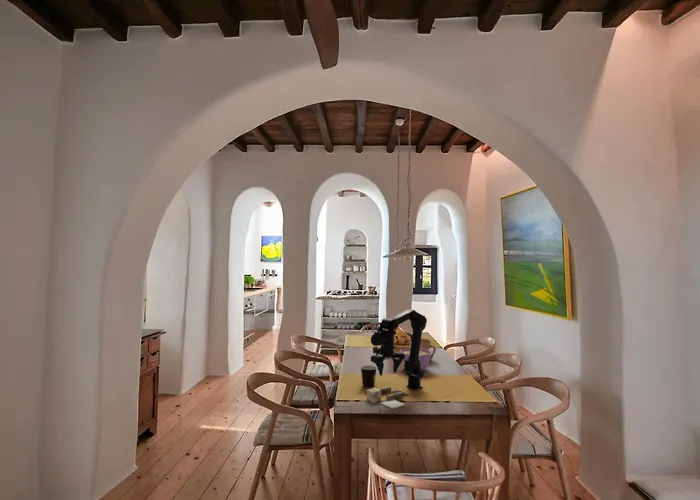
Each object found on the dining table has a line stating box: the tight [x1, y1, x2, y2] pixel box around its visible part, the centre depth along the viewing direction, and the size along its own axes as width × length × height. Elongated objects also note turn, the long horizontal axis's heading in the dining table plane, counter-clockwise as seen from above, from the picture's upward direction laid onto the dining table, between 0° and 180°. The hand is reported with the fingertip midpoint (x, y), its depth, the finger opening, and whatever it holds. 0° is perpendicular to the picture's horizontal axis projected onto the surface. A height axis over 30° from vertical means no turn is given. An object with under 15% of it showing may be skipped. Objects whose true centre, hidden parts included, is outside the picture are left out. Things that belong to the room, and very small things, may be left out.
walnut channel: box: [377, 386, 404, 402], centre depth 199 cm, size 10×11×2 cm
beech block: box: [366, 387, 382, 404], centre depth 193 cm, size 5×5×5 cm
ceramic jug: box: [409, 338, 437, 362], centre depth 271 cm, size 18×14×14 cm
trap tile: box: [391, 389, 410, 397], centre depth 203 cm, size 5×8×1 cm, turn 35°
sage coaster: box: [380, 399, 406, 410], centre depth 187 cm, size 8×8×1 cm
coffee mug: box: [360, 364, 377, 389], centre depth 216 cm, size 12×9×10 cm
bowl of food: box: [399, 347, 432, 371], centre depth 248 cm, size 20×20×12 cm
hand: (387, 374), depth 199 cm, fingers open, 9 cm apart
